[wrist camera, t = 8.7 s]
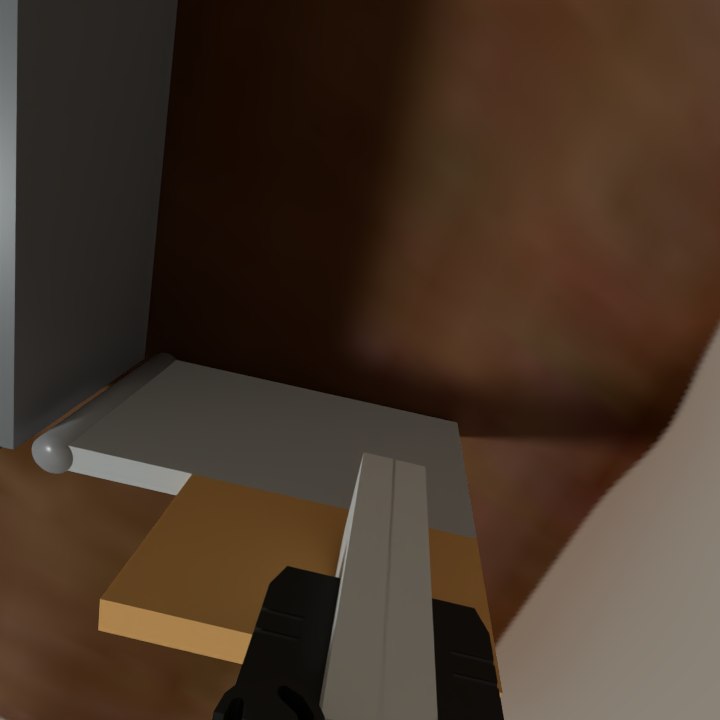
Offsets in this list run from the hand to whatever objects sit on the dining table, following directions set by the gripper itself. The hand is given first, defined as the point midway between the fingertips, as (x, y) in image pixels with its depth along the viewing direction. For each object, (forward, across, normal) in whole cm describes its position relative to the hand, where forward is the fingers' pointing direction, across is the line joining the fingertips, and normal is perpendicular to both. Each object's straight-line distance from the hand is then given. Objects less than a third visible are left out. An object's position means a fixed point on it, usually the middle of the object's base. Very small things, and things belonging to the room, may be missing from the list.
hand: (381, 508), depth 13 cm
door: (+9, -3, -2) cm, 10 cm away
